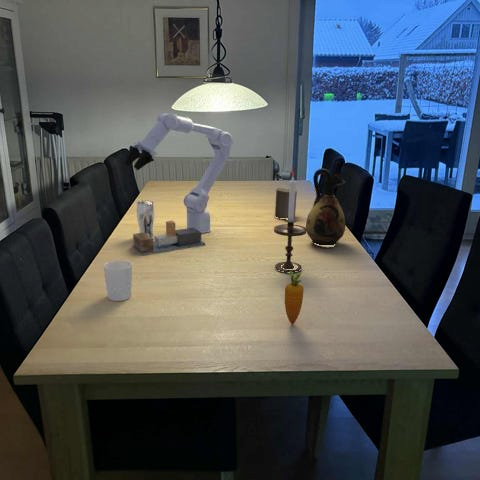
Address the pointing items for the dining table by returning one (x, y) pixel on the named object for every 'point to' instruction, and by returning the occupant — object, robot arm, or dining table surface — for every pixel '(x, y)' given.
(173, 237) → the grey slider with handle
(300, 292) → the carrot
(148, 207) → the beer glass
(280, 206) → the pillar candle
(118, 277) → the white cup
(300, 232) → the candlestick
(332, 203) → the ceramic jug
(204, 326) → the dining table surface
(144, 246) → the socket block
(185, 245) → the outer sleeve
